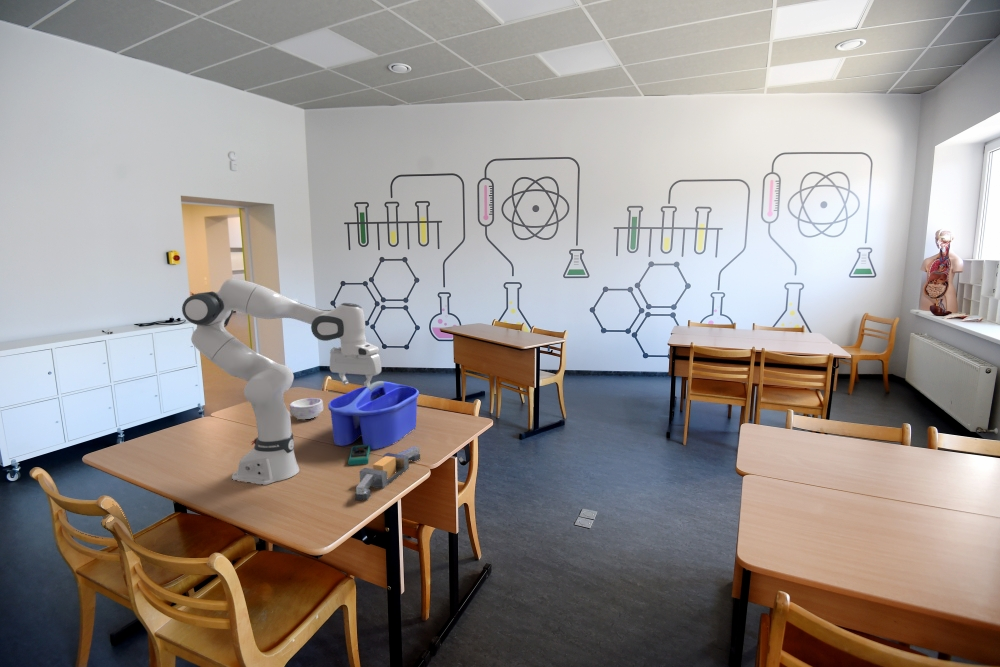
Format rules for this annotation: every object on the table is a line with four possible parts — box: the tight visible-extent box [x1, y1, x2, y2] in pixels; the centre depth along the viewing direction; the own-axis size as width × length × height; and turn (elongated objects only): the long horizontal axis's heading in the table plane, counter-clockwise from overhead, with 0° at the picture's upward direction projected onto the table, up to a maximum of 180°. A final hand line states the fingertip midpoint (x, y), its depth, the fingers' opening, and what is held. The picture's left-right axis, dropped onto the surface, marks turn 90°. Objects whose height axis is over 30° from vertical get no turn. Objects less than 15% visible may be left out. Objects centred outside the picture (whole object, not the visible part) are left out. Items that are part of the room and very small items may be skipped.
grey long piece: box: [354, 445, 421, 501], centre depth 179 cm, size 37×9×5 cm, turn 160°
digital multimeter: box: [347, 444, 371, 466], centre depth 196 cm, size 7×15×3 cm, turn 11°
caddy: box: [327, 380, 420, 450], centre depth 221 cm, size 32×45×23 cm
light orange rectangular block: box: [372, 456, 397, 478], centre depth 179 cm, size 8×4×6 cm, turn 159°
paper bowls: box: [289, 397, 324, 420], centre depth 246 cm, size 15×15×8 cm
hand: (356, 385), depth 183 cm, fingers open, 8 cm apart
